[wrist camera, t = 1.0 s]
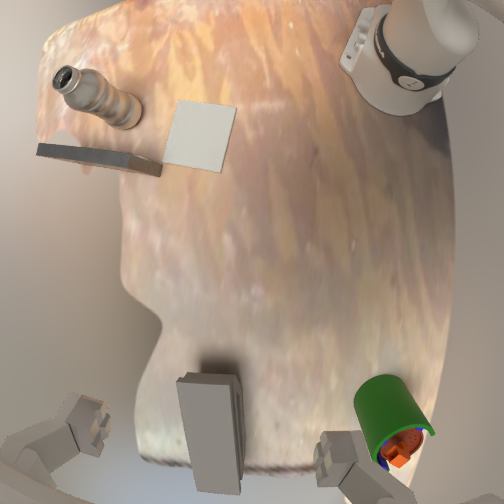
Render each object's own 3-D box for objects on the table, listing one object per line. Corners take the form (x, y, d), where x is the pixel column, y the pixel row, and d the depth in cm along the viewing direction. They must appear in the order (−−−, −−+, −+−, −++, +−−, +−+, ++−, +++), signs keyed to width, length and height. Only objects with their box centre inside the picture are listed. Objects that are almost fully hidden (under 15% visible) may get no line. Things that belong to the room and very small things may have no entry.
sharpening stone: (246, 458, 56) (239, 495, 45) (209, 456, 57) (197, 491, 46) (239, 354, 53) (229, 385, 42) (195, 352, 54) (176, 382, 43)
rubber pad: (179, 100, 49) (178, 99, 48) (236, 108, 48) (236, 107, 48) (163, 162, 51) (162, 162, 50) (220, 173, 50) (220, 172, 49)
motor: (379, 423, 52) (406, 494, 32) (343, 409, 52) (361, 484, 33) (410, 382, 51) (452, 446, 31) (374, 366, 51) (409, 434, 31)
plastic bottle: (136, 136, 51) (68, 104, 31) (107, 127, 51) (36, 97, 31) (151, 103, 50) (91, 57, 30) (122, 95, 50) (57, 53, 30)
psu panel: (79, 151, 52) (39, 141, 40) (163, 163, 51) (130, 151, 39) (77, 163, 52) (36, 155, 40) (159, 177, 51) (126, 168, 39)
